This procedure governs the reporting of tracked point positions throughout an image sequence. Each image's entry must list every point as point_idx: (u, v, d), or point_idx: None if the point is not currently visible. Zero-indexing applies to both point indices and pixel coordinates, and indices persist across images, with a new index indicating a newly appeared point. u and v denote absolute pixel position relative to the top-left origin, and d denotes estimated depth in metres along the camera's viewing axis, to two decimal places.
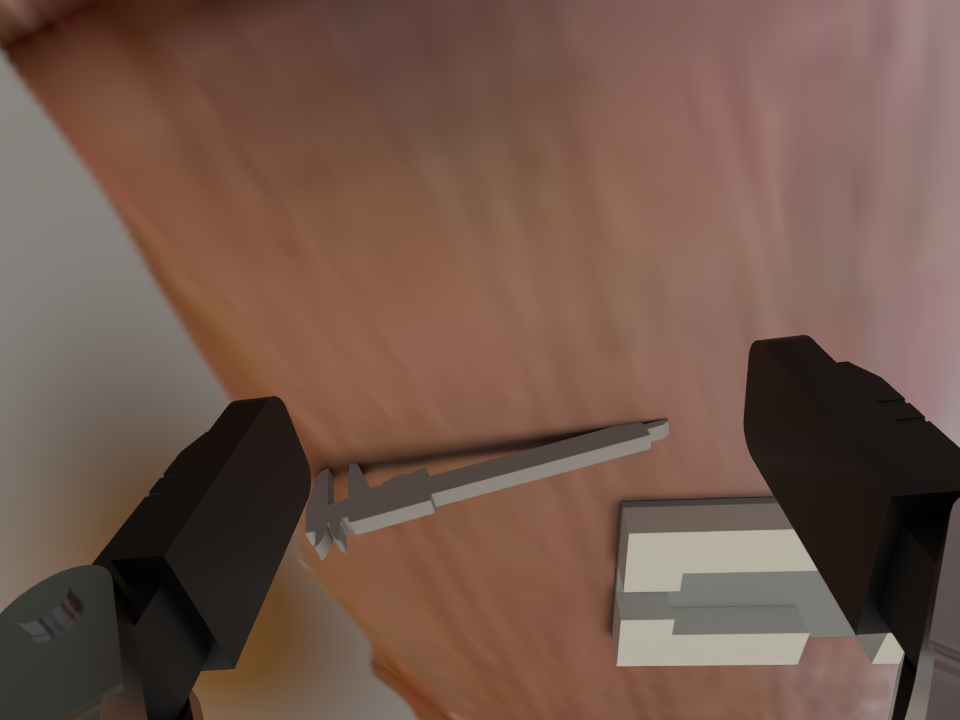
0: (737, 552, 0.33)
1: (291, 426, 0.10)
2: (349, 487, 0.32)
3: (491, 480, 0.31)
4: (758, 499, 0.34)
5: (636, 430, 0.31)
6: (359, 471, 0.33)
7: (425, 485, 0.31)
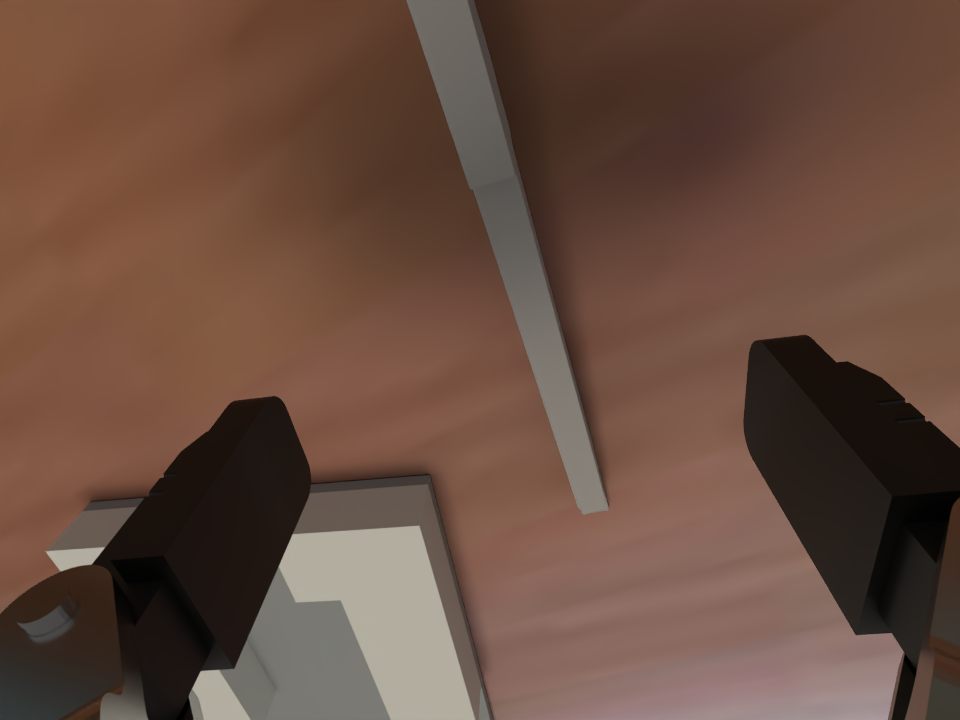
0: (407, 647, 0.22)
1: (291, 426, 0.10)
2: None
3: (543, 298, 0.14)
4: (466, 619, 0.25)
5: (601, 480, 0.20)
6: None
7: (510, 145, 0.12)
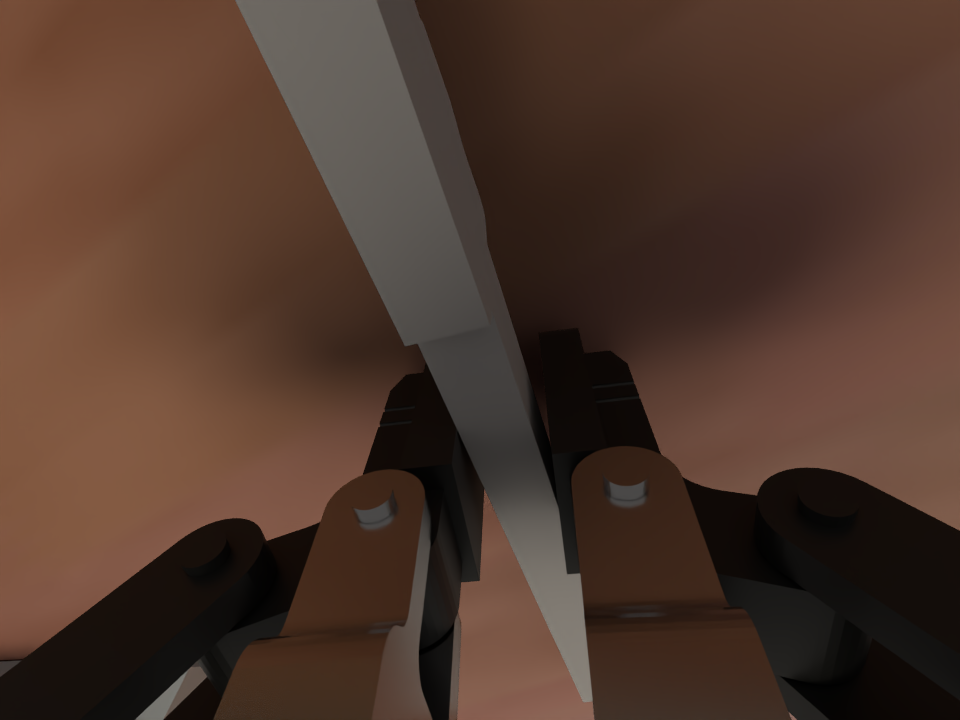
0: None
1: None
2: None
3: (539, 484, 0.09)
4: None
5: None
6: None
7: (484, 254, 0.07)
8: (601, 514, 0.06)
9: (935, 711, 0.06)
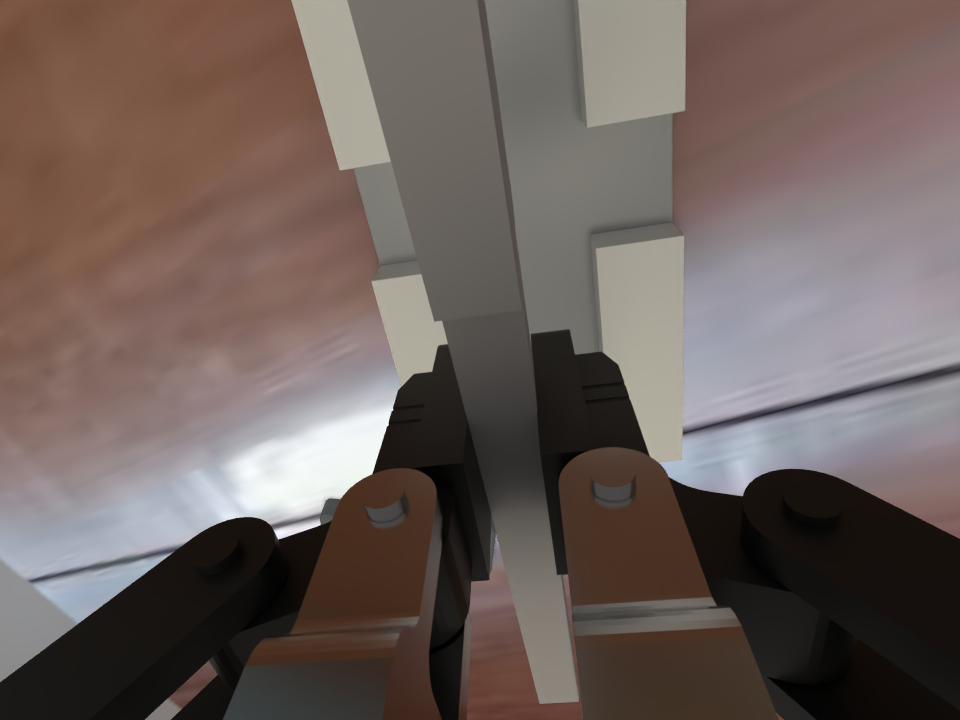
0: None
1: None
2: None
3: (535, 477, 0.09)
4: None
5: (574, 666, 0.14)
6: None
7: (515, 240, 0.07)
8: (588, 516, 0.06)
9: (921, 709, 0.06)
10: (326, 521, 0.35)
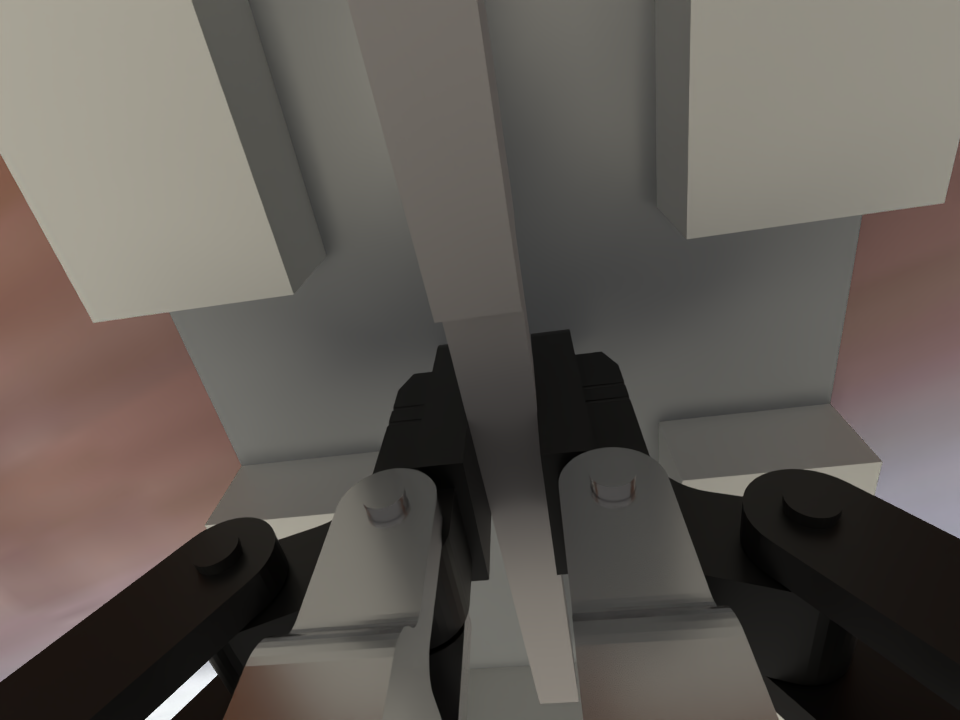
0: None
1: None
2: None
3: (535, 477, 0.09)
4: None
5: (574, 667, 0.14)
6: None
7: (515, 242, 0.07)
8: (588, 515, 0.06)
9: (921, 709, 0.06)
10: None
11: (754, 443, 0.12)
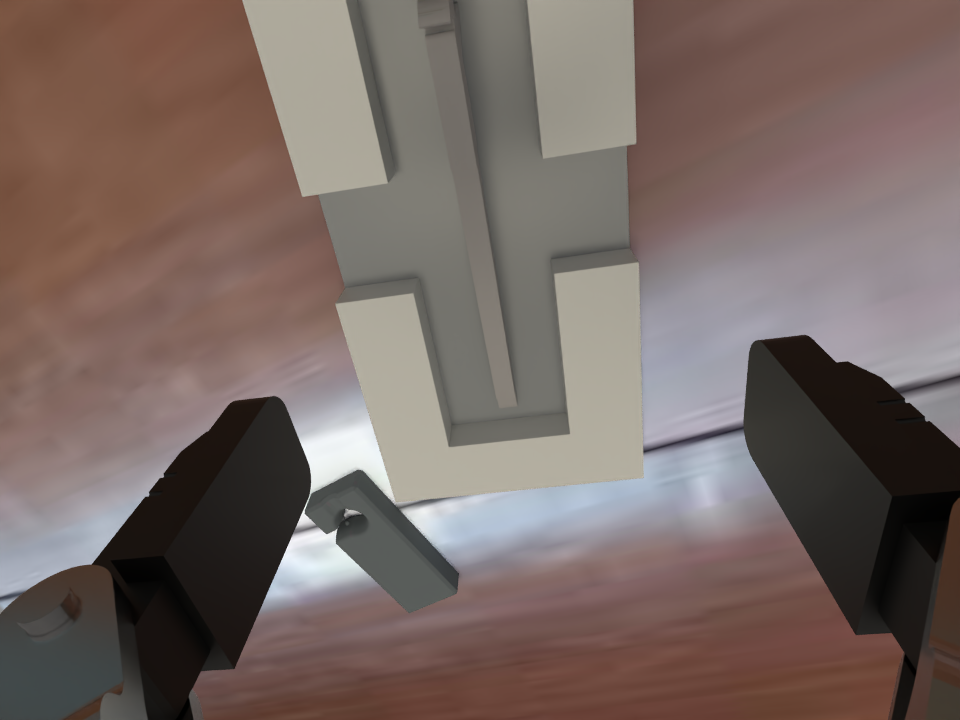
0: None
1: (291, 426, 0.10)
2: (456, 14, 0.20)
3: (486, 243, 0.24)
4: None
5: (513, 381, 0.29)
6: (460, 26, 0.22)
7: (476, 150, 0.22)
8: None
9: None
10: (354, 494, 0.33)
11: (589, 261, 0.26)
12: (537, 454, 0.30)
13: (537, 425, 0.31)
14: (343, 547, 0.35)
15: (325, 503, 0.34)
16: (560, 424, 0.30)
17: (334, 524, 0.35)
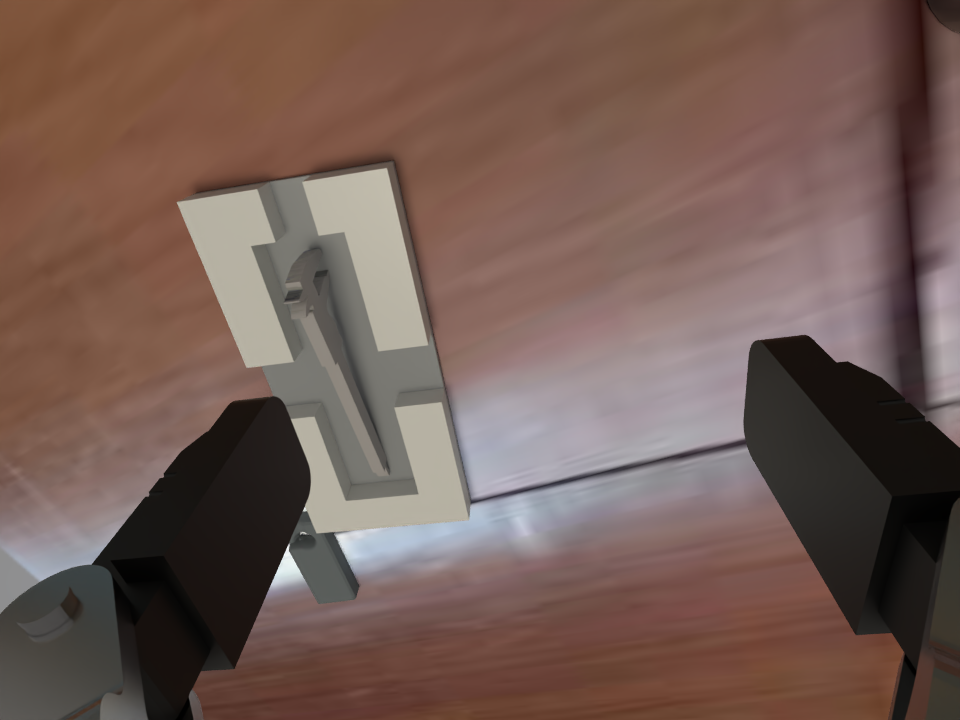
0: (383, 270, 0.38)
1: (291, 426, 0.10)
2: (321, 288, 0.39)
3: (349, 396, 0.42)
4: (420, 278, 0.41)
5: (383, 462, 0.48)
6: (328, 286, 0.40)
7: (338, 351, 0.40)
8: None
9: None
10: None
11: (417, 398, 0.44)
12: (400, 505, 0.49)
13: (402, 487, 0.49)
14: (293, 554, 0.53)
15: None
16: (415, 486, 0.49)
17: (293, 539, 0.53)
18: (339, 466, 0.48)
